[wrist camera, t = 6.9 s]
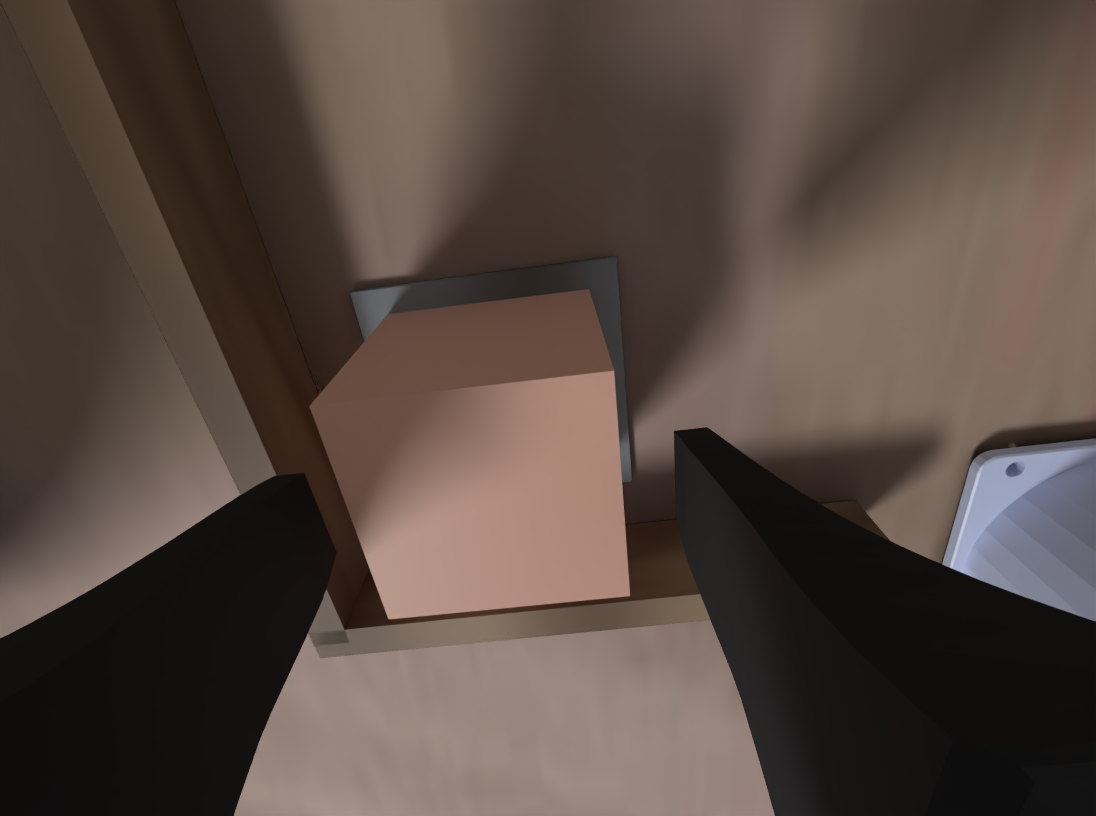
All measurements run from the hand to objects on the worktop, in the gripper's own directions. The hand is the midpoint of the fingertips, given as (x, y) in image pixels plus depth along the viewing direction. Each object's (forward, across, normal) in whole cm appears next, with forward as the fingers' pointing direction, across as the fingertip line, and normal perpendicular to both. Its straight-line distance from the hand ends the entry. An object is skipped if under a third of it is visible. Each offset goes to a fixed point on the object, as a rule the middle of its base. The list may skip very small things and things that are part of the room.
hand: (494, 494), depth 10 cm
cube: (+4, 0, 0) cm, 4 cm away
